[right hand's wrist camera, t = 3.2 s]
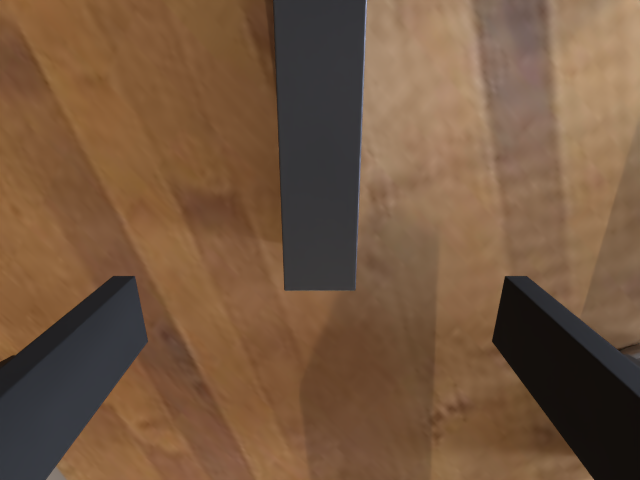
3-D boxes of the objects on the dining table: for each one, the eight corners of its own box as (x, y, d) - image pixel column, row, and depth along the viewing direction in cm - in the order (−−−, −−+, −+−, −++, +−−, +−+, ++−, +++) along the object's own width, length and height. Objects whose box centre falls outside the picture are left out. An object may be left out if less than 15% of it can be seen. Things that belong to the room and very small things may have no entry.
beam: (280, -215, 20) (256, -406, 13) (359, -215, 20) (383, -406, 13) (293, 245, 30) (284, 291, 22) (346, 245, 30) (355, 291, 22)
